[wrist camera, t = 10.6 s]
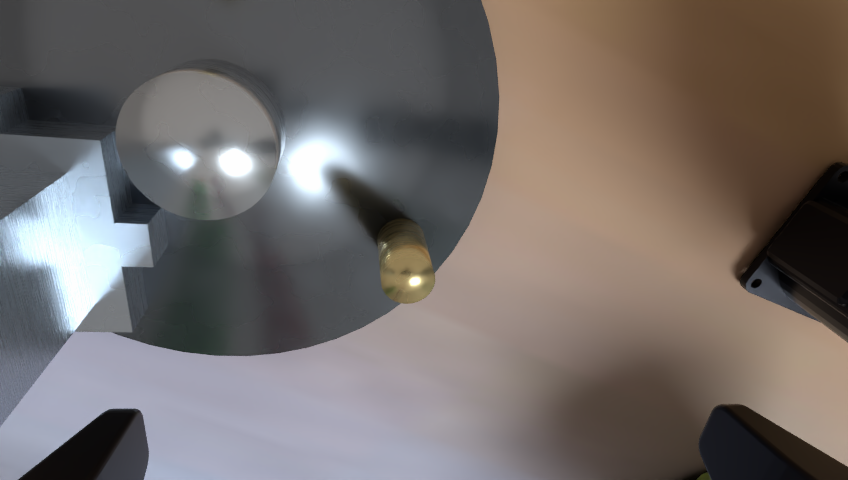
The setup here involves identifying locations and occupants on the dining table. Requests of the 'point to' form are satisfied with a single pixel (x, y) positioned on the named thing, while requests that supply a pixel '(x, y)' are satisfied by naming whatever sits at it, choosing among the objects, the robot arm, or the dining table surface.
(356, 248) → the disc
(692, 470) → the dining table surface
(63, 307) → the square pipe section
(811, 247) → the robot arm
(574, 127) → the dining table surface
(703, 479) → the plant pot
